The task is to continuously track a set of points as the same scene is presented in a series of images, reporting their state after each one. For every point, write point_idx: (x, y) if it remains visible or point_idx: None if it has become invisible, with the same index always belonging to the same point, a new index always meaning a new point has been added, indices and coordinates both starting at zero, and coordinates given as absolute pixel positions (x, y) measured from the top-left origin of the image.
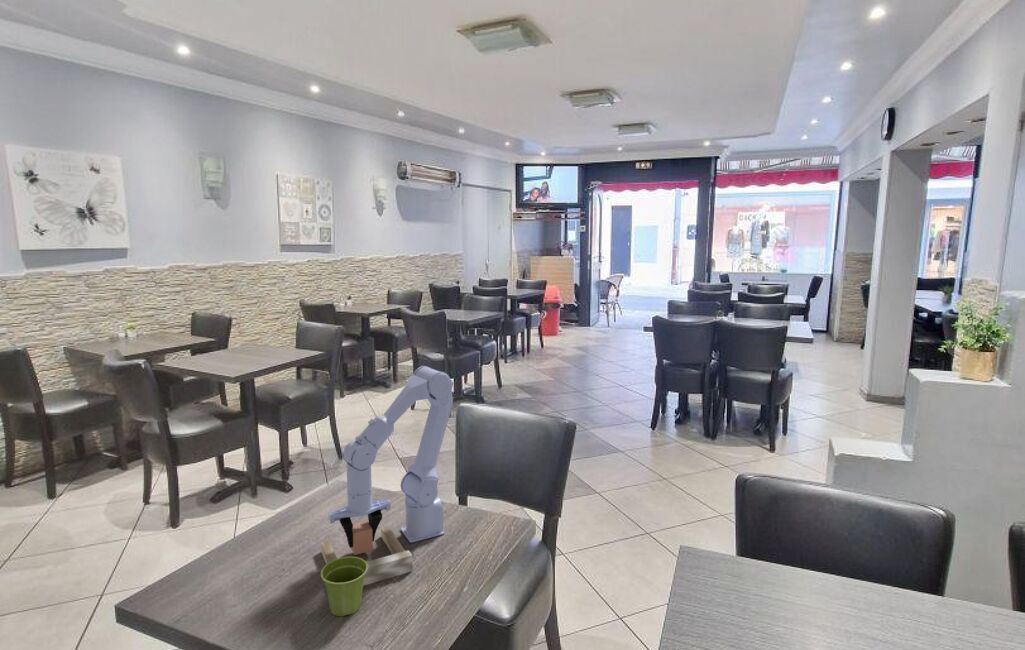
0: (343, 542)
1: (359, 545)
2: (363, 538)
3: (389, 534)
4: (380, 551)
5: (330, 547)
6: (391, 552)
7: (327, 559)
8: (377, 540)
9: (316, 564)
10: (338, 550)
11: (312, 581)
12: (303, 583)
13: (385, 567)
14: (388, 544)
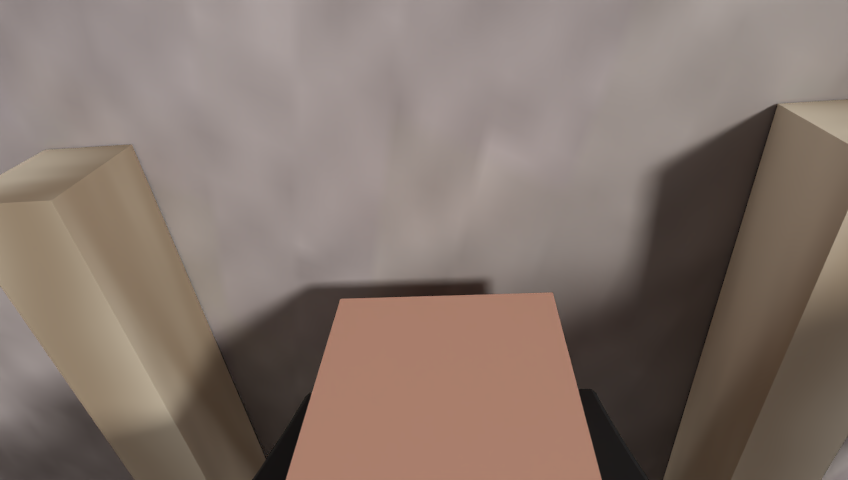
0: (286, 37)
1: None
2: None
3: (833, 362)
4: (618, 356)
5: (115, 344)
6: (687, 422)
7: (134, 470)
8: (690, 170)
9: None
10: (235, 192)
11: (101, 461)
12: (48, 458)
13: None
14: (722, 386)
